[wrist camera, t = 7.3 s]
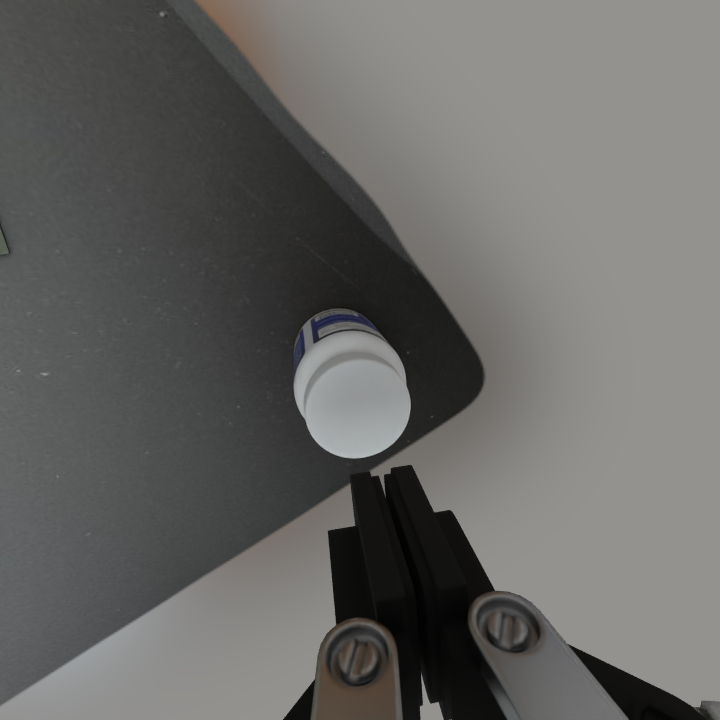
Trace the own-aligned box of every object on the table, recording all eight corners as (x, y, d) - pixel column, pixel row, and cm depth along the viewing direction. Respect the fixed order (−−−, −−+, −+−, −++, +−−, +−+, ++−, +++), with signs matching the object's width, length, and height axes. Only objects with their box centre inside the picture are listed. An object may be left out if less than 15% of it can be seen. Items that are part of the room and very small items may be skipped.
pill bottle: (343, 405, 28) (364, 492, 19) (276, 356, 27) (262, 424, 17) (398, 342, 28) (448, 400, 18) (332, 287, 26) (350, 320, 17)
